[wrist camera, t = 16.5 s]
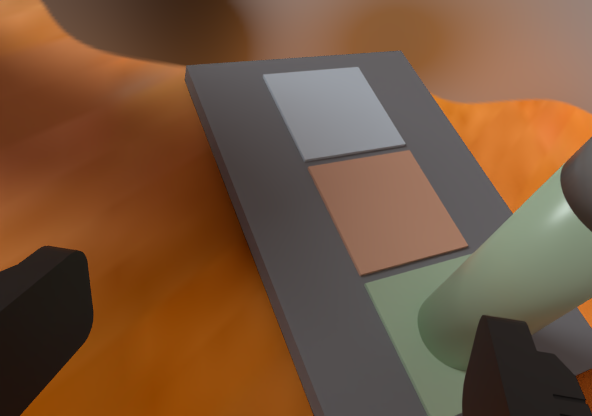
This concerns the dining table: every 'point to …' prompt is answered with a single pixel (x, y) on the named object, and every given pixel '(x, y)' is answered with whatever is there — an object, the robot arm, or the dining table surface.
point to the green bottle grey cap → (520, 267)
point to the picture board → (356, 221)
